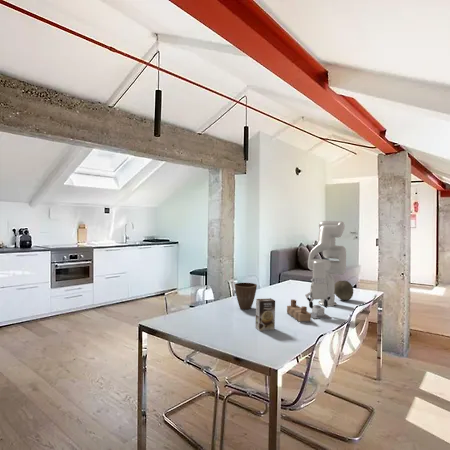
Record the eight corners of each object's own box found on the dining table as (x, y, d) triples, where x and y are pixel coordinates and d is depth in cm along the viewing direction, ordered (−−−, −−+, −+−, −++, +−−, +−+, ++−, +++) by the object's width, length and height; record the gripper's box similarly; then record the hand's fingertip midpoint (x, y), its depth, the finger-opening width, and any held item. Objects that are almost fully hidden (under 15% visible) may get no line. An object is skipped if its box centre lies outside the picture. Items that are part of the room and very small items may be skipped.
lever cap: (311, 313, 217) (312, 304, 217) (319, 313, 218) (319, 304, 218) (316, 316, 211) (316, 307, 211) (324, 316, 211) (324, 307, 211)
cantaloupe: (350, 298, 265) (350, 279, 265) (355, 302, 251) (355, 282, 251) (331, 297, 267) (332, 278, 267) (335, 302, 253) (336, 281, 253)
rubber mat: (305, 313, 219) (305, 312, 219) (322, 313, 221) (322, 312, 221) (313, 319, 207) (313, 318, 207) (331, 318, 210) (331, 317, 210)
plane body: (286, 313, 219) (287, 299, 219) (297, 313, 220) (297, 299, 220) (299, 322, 199) (299, 307, 199) (310, 322, 201) (310, 307, 201)
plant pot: (255, 311, 222) (255, 287, 221) (232, 310, 225) (232, 286, 224) (257, 306, 236) (257, 283, 236) (236, 304, 239) (236, 282, 239)
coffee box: (259, 331, 183) (259, 301, 183) (255, 327, 189) (255, 298, 189) (275, 330, 185) (275, 300, 185) (270, 326, 191) (270, 297, 191)
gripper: (308, 282, 209) (308, 309, 210) (334, 281, 212) (334, 308, 213) (303, 279, 216) (303, 306, 217) (328, 279, 220) (328, 305, 220)
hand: (318, 307), depth 215 cm, fingers open, 9 cm apart
